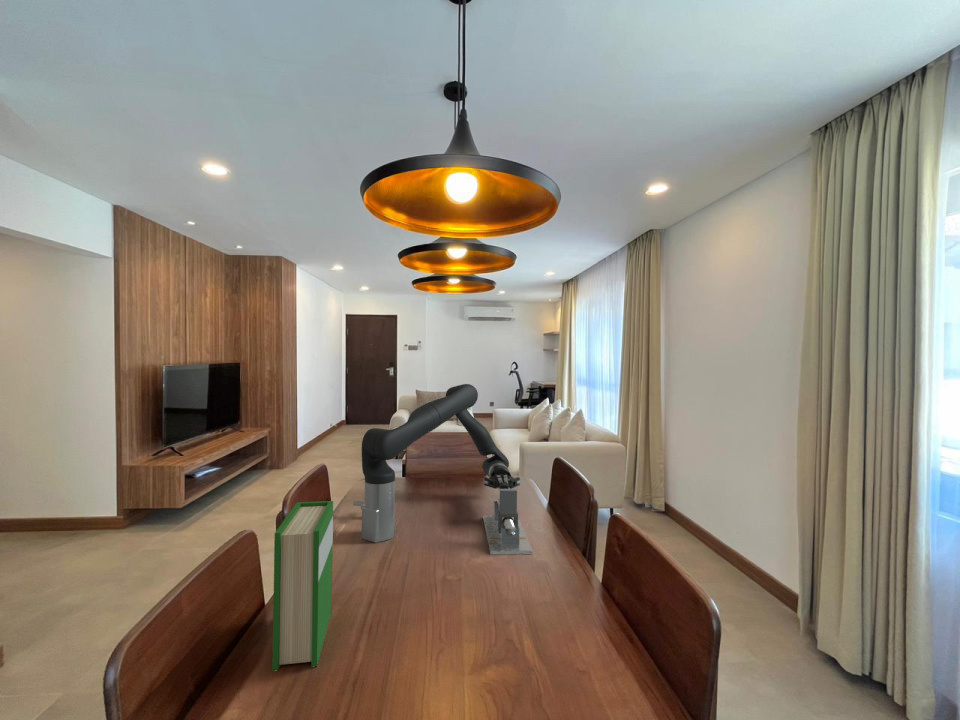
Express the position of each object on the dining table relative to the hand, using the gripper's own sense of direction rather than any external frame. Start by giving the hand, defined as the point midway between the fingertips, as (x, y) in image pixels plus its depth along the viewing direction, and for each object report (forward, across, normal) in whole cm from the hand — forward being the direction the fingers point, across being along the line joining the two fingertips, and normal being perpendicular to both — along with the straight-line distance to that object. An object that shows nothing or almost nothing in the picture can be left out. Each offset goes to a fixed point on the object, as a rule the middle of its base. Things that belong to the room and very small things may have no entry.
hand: (504, 488), depth 146 cm
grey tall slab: (+10, 0, +10) cm, 14 cm away
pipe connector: (-13, -46, +14) cm, 50 cm away
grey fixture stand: (+3, 0, +14) cm, 14 cm away
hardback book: (+56, -45, +14) cm, 73 cm away
